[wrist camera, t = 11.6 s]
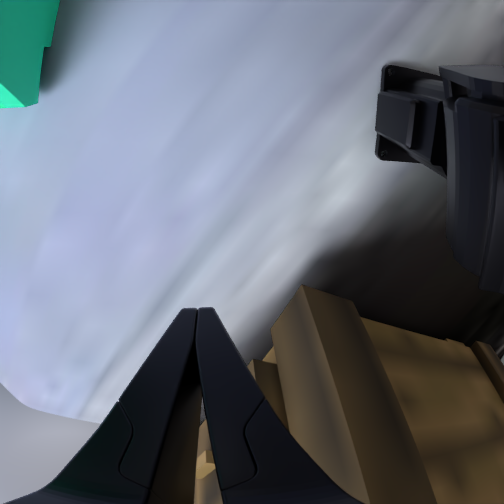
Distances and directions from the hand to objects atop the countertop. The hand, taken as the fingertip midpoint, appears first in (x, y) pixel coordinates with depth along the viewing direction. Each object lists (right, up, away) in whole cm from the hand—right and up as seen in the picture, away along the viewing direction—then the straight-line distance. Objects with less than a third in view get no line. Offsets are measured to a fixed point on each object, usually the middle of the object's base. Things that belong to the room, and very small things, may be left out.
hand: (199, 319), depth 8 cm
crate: (+12, -16, +27) cm, 33 cm away
